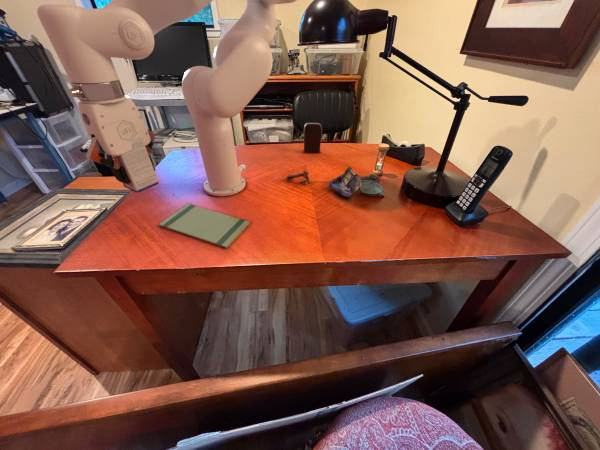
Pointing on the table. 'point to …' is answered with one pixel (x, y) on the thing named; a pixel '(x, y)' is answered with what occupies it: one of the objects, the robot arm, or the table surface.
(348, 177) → the snack package
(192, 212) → the towel
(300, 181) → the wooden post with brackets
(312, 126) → the battery charger
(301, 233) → the table surface
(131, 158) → the supplement box
